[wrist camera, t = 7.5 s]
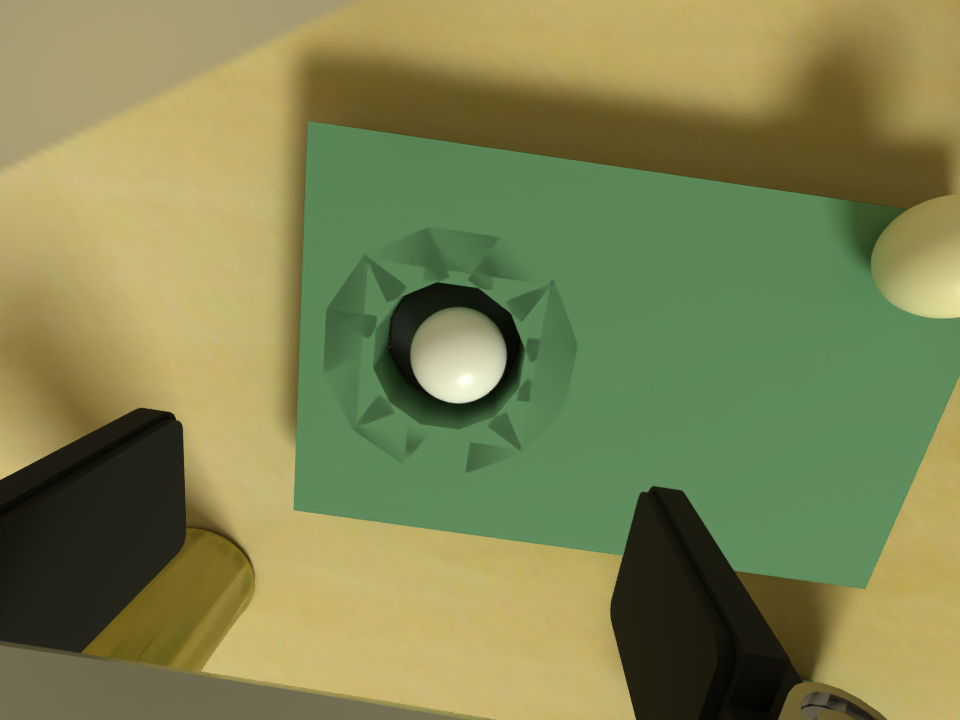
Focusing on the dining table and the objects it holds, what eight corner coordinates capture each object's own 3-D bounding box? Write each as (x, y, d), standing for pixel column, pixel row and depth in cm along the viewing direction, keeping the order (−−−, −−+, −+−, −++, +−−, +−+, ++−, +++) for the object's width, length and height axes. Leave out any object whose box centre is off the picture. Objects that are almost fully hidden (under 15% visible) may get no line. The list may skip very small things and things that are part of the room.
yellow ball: (976, 204, 18) (1108, 202, 14) (931, 313, 19) (1042, 339, 15) (867, 187, 18) (968, 182, 14) (828, 298, 19) (913, 320, 15)
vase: (179, 504, 26) (-173, 832, 12) (278, 569, 27) (55, 939, 13) (125, 578, 27) (-244, 945, 14) (220, 637, 28) (-35, 1034, 15)
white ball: (479, 298, 23) (533, 320, 20) (468, 379, 24) (517, 413, 21) (399, 296, 21) (445, 321, 18) (390, 386, 22) (433, 424, 19)
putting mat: (952, 224, 21) (1025, 226, 18) (823, 546, 25) (865, 589, 23) (333, 133, 21) (307, 120, 18) (316, 475, 25) (293, 510, 22)
